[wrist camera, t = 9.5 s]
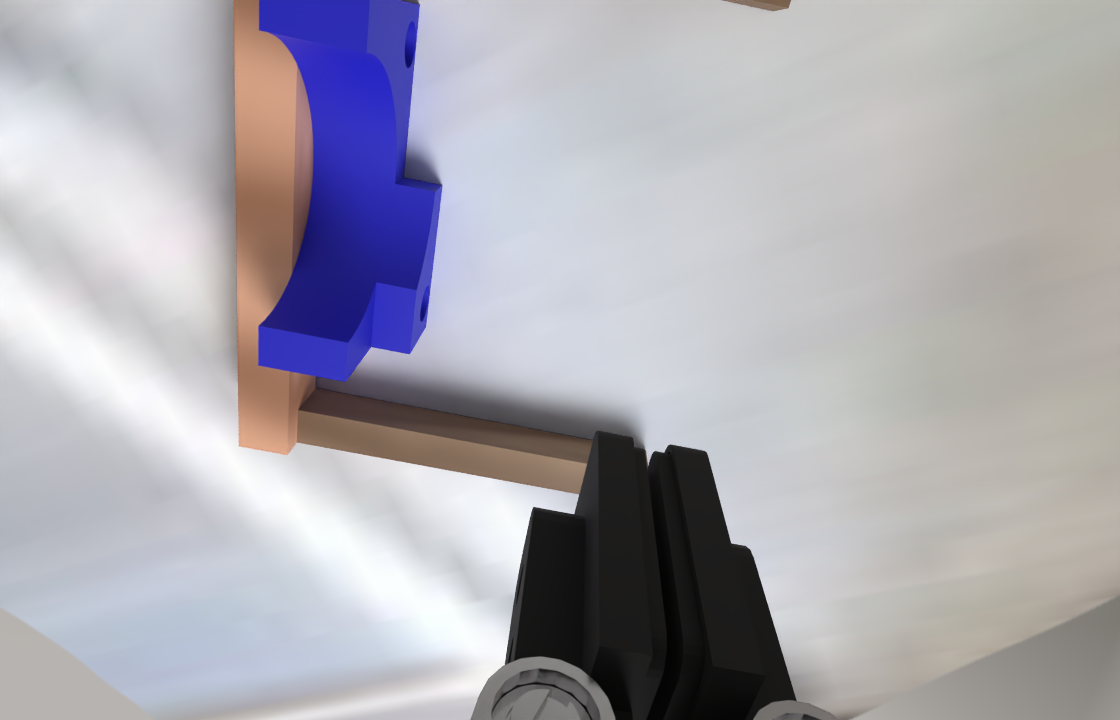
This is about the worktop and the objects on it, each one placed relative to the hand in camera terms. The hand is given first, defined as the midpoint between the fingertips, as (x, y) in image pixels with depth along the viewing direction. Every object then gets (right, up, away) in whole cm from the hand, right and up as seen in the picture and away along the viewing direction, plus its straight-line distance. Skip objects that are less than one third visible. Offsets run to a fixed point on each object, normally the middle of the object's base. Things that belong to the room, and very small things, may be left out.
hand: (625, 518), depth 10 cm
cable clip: (-8, +10, +16) cm, 20 cm away
